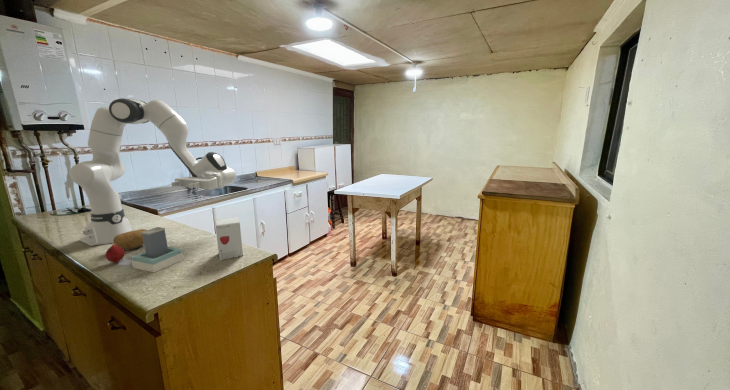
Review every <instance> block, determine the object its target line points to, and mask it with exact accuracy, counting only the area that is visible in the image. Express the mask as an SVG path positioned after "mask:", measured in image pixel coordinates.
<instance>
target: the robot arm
mask: <svg viewBox="0 0 730 390" xmlns="http://www.w3.org/2000/svg"><path fill="white" fill-rule="evenodd" d="M149 122H150V123H152V124H153V125H154V126H155V127H156V128H157V129H158V130H159V131H160V132H161V133H162V135H163V136H164V137H165V138H166V140H167V144H168V146H169V148H170V149H171V151H172V152H173V153H174V154H175V156H176V157H177V158H178V159H179V160H180V162H181V163H182V164H183V165H184V167H185V168H186V169H187V170H188V173H190V175H191V176H182V177H176V178H174V181H173V182H171V184H170V185H171V187H182V188H183V187H184V188H188V189H201V190H204V191H209V190H220V189H222V188H223V187H227V186H230V185H232V184H234V183H235V182H236V179H237V173H236V171H235V170H234V169H233V168H232V167H229V165H228V164H227V163H226V162H225V159H224V157H223V156H222V155H221V154H219V153H217V152H213V151H210V152H207V153H206V154H205V155H204V156H202V157H201V159H199V161H198V160H197V159H196V158H195V157H194V156H193V154H192V153H191V152H190V150H189V149H188V148H187V147H188V146H187V139H188V138H187V137H188V134H189V126H188V124H187V122H186V120H184V118H183V117H182V116H181V115H180V114H179V113H178V112H177V111H175V110H174V109H173V108H172V107H171V106H169V105H168V104H167V103H166V102H165V101H163V100H160V99H153V100H150V101H149V102H147V103H146V102H145V101H143V100H138V99H134V98H116V99H114V100H112V101H111V102H110V103H109V106H103V107H99V108H97V109H96V110H95V113H94V116H93V118H92V121H91V124H90V128H89V129H90V130H89V135H88V139H87V146H88V148H89V149H91V153H92V159H91V160H87V161H80V162H79V163H77V164H74V165H73V166H71V167H70V168H69V169H70V170H69V172H68V176H69V178H70V180H71V181H72V182H73V183H75V184H76V185H78V186H80V187H81V189H82V191H84V193H85V194H86V197H87V198H88V203H89V206H90V210H91V213H89V216H90V222H89V223H88V224H87V225H86V227H85V228H84V230H82V234H83V236H82V237H80V238H79V241H80V242H81V243H83V244H86V245H88V246H89V247H90V246H91V247H93V246H98V245H99V246H100V245H108V244H114V241H113V240H114V238H115V237H116V236H117V235H119V234H122V233H126V232H129V231H132V228H131V224H130V221H129V219H128V218H127V217H125V216H126V213H125V211H124V210H125V209H123V206H122V201H121V196H120V193H119V192H118V191H115V190H114V187H112V185H111V182H113V181H116V180H118V179H119V178H121V177H122V176H123V175H124V174H125V166H124V165H123V163H122V161H121V155H120V151H121V144H122V138H123V133H124V130H125V129H124V128H125V127H126V126H127V124H128V125H129V124H130V125H138V124H147V123H149Z"/></svg>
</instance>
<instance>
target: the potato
mask: <svg viewBox="0 0 730 390" xmlns="http://www.w3.org/2000/svg"><path fill="white" fill-rule="evenodd" d="M146 230H147V229H145V228H139V229H136V230H135V229H134V230H131V231H129V232H126V233H122V234H119V235H117V236H116V237H115V238H114V240H113V241H114V243H113V244H116V246H119V247H121V248H123V249H124V250H136V249H137V248H140V247H142V246H143V245H144V242H143V236H142V233H141V232H143V231H146Z"/></svg>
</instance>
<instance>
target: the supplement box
mask: <svg viewBox="0 0 730 390" xmlns="http://www.w3.org/2000/svg"><path fill="white" fill-rule="evenodd" d="M215 230H216V231H215V233H216V241H217V250H218V256H219V260H220V261H223V260H227V259H234V258H239V257H238V256H240V257H243V256H244V251H243V243H242V240H243V239H242V234H241V233H242V231H241V223H240V220H239V217H238V216H235V217H230V218H222V219H215ZM242 255H243V256H242ZM233 257H234V258H233Z"/></svg>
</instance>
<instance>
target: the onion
mask: <svg viewBox="0 0 730 390" xmlns="http://www.w3.org/2000/svg"><path fill="white" fill-rule="evenodd" d="M125 255H126V251H125V249H123V248H121V247H119V246H116V244H114V243H112V244H111V246H110V247H109V248H107V250H106V252H105V258H106V260H107V261H109V262H111V263H116V264H118V263H119V262H121V260H122V259H123V258H124V257H125Z"/></svg>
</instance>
